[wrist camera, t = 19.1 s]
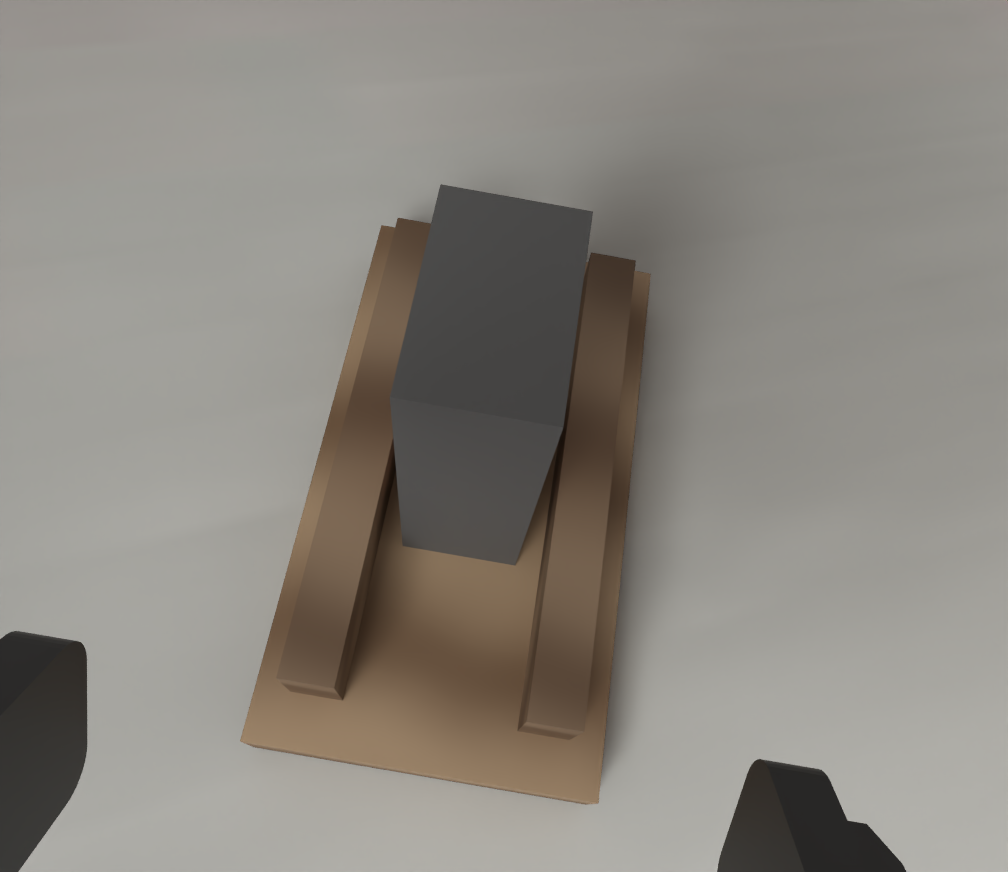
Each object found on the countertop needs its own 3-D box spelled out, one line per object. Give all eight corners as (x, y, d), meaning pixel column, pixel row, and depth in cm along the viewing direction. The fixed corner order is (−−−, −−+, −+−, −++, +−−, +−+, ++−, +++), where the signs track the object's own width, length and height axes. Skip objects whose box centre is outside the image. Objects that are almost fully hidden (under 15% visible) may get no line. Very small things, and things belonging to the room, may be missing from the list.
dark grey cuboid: (516, 565, 26) (565, 427, 17) (401, 546, 26) (388, 396, 17) (539, 408, 28) (594, 211, 19) (435, 389, 28) (438, 184, 19)
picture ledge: (586, 804, 25) (616, 801, 21) (253, 747, 25) (219, 732, 21) (638, 304, 33) (668, 230, 28) (384, 258, 32) (378, 177, 28)
